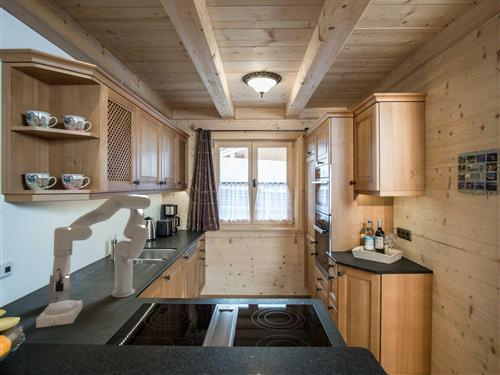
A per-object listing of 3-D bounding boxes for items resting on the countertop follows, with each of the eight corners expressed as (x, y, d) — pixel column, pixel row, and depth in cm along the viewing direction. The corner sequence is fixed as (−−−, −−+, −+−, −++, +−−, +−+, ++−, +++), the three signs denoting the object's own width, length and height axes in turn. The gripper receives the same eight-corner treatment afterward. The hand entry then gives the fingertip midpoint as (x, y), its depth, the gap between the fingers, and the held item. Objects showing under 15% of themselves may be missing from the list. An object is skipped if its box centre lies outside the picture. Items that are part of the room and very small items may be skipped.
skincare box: (47, 304, 138) (47, 275, 138) (60, 299, 145) (61, 271, 145) (57, 307, 135) (58, 277, 135) (71, 302, 142) (71, 273, 142)
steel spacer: (56, 289, 129) (57, 275, 129) (70, 287, 131) (71, 274, 131) (52, 293, 123) (52, 279, 123) (66, 292, 125) (67, 278, 125)
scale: (50, 311, 131) (50, 301, 131) (82, 307, 136) (82, 298, 136) (35, 328, 116) (35, 317, 116) (71, 323, 120) (72, 313, 120)
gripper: (60, 248, 134) (59, 283, 134) (46, 257, 118) (45, 296, 117) (77, 248, 136) (76, 282, 136) (66, 256, 120) (64, 295, 120)
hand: (61, 288), depth 127 cm, fingers closed on steel spacer, 6 cm apart
